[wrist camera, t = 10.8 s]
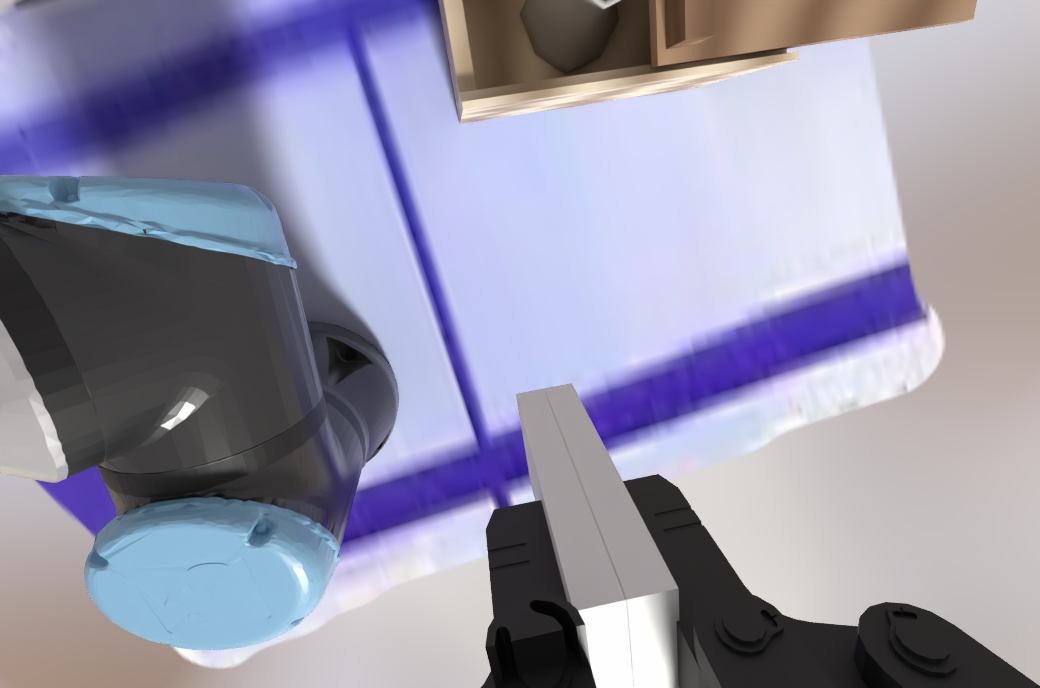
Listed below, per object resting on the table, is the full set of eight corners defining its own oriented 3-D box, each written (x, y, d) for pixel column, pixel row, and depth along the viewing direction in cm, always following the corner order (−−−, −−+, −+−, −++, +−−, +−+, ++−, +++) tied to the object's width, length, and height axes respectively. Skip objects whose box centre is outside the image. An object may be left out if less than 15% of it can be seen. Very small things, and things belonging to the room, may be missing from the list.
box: (459, 123, 40) (463, 109, 27) (431, -41, 35) (419, -144, 23) (695, 87, 41) (799, 59, 29) (694, -75, 37) (814, -189, 24)
